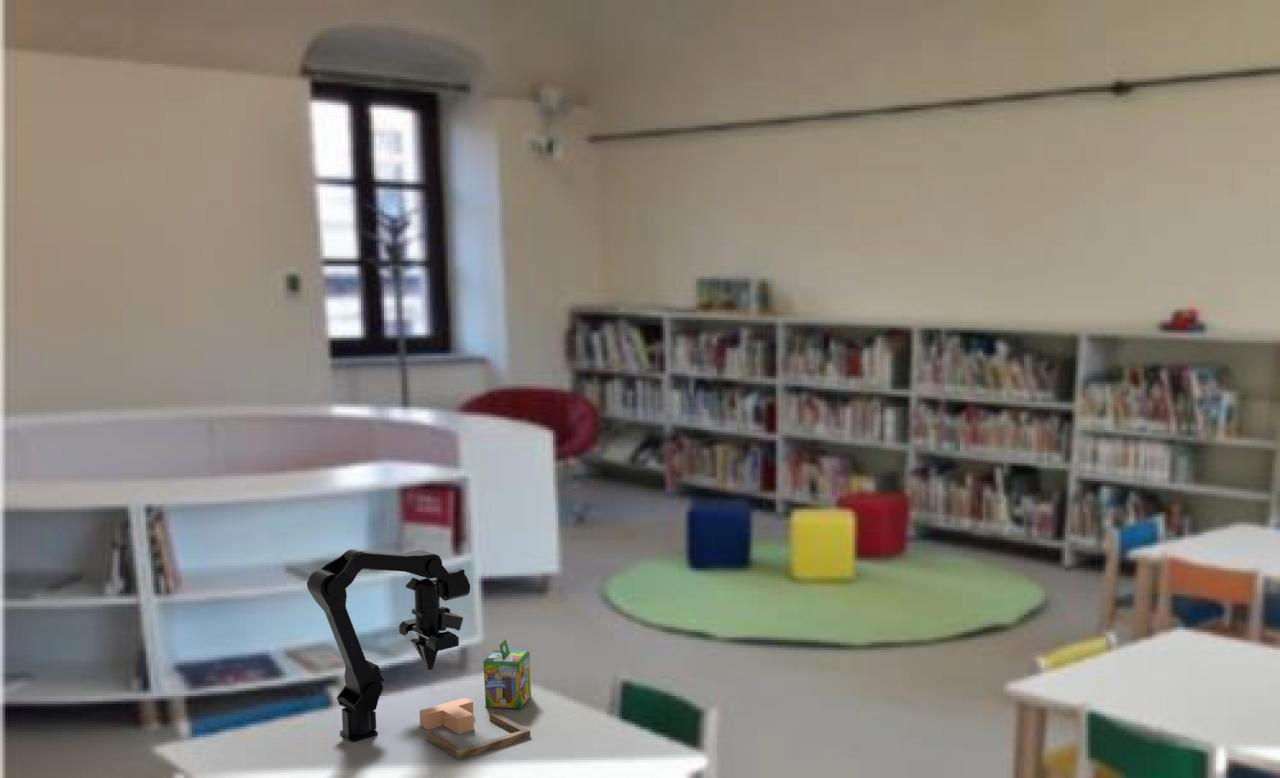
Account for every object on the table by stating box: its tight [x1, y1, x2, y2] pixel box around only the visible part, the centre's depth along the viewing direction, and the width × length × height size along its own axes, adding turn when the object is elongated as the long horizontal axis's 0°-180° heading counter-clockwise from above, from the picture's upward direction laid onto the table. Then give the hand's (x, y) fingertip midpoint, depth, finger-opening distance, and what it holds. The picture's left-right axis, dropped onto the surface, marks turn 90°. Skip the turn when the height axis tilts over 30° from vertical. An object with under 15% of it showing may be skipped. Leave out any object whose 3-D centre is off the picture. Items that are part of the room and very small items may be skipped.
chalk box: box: [482, 639, 532, 709], centre depth 270 cm, size 9×9×15 cm
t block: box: [419, 697, 475, 735], centre depth 257 cm, size 12×10×4 cm
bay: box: [425, 711, 531, 761], centre depth 249 cm, size 18×14×2 cm
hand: (429, 669), depth 265 cm, fingers closed
